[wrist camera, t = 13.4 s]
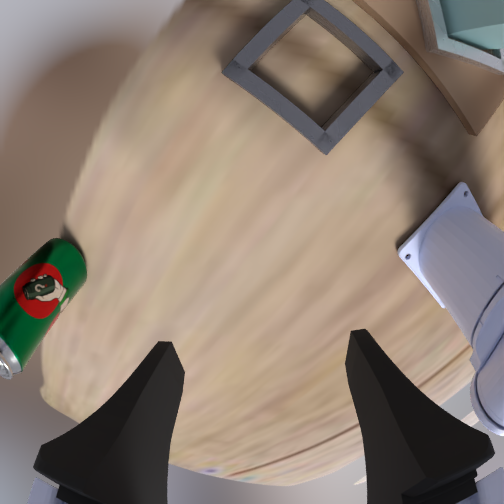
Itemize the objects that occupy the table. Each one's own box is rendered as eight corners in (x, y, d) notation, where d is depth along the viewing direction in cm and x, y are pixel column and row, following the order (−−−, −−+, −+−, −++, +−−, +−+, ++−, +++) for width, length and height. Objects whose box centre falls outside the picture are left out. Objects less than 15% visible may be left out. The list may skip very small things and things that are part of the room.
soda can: (45, 228, 19) (-46, 312, 9) (90, 245, 20) (0, 349, 9) (49, 274, 22) (-22, 361, 11) (90, 292, 22) (24, 394, 12)
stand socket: (393, 74, 13) (403, 72, 12) (321, 151, 16) (326, 155, 15) (303, -4, 11) (306, -12, 10) (224, 75, 14) (221, 72, 13)
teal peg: (471, 5, 8) (542, -9, 1) (481, 49, 10) (559, 49, 3) (431, -11, 9) (501, -41, 2) (442, 35, 10) (524, 21, 3)
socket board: (521, 59, 10) (539, 60, 8) (468, 133, 14) (489, 139, 12) (414, -67, 6) (427, -78, 4) (333, -14, 11) (343, -29, 8)
